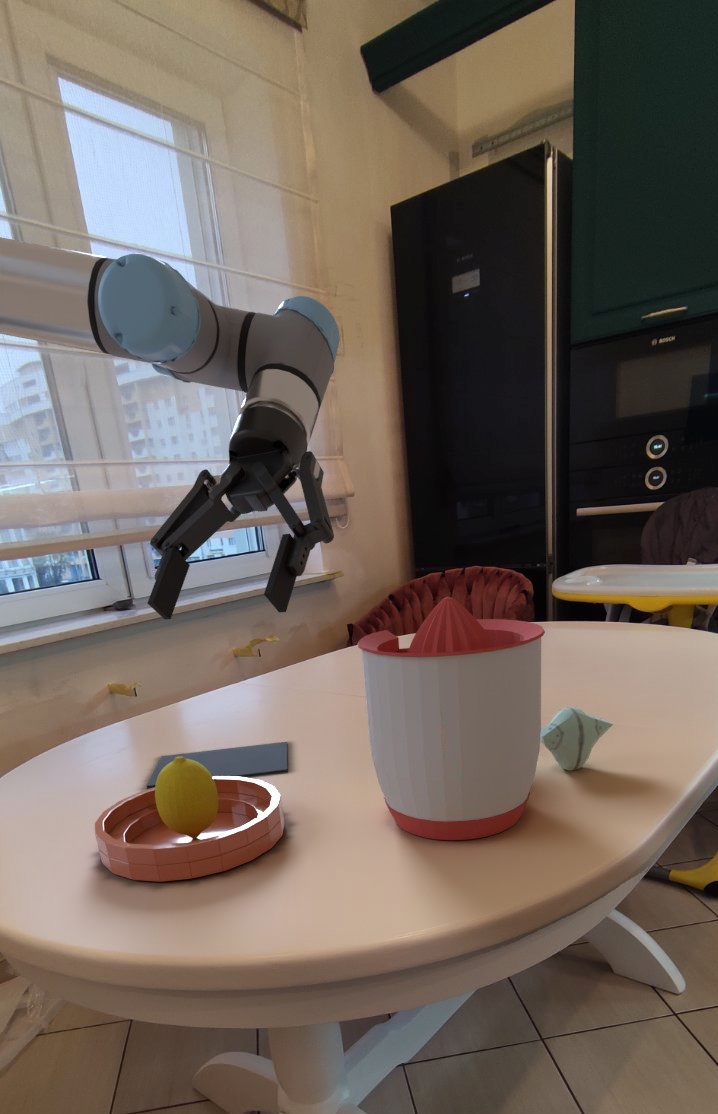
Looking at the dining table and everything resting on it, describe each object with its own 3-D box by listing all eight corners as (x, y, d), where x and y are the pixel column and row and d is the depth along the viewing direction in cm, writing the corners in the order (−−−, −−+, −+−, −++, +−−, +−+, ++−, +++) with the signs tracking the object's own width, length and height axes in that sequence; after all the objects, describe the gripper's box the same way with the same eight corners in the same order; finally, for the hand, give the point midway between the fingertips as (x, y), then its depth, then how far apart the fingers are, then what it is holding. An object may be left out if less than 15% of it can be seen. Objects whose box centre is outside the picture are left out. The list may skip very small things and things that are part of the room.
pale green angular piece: (545, 783, 73) (545, 718, 71) (526, 770, 77) (526, 709, 75) (615, 769, 75) (618, 706, 72) (593, 758, 79) (595, 697, 76)
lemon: (228, 843, 65) (213, 760, 62) (165, 856, 64) (147, 771, 61) (221, 821, 70) (207, 743, 67) (163, 832, 69) (146, 753, 66)
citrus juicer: (480, 771, 78) (475, 579, 71) (579, 829, 63) (586, 591, 55) (344, 801, 74) (323, 599, 66) (415, 871, 58) (397, 618, 51)
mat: (147, 791, 82) (146, 786, 82) (162, 760, 92) (161, 756, 92) (288, 774, 83) (287, 769, 83) (287, 746, 93) (286, 741, 93)
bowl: (65, 863, 66) (56, 828, 64) (198, 798, 78) (192, 768, 77) (192, 903, 57) (184, 864, 55) (320, 823, 69) (315, 789, 68)
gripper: (397, 442, 72) (348, 624, 65) (199, 476, 83) (140, 635, 77) (367, 377, 65) (310, 571, 59) (157, 424, 77) (90, 591, 70)
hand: (214, 608), depth 68 cm, fingers open, 13 cm apart
